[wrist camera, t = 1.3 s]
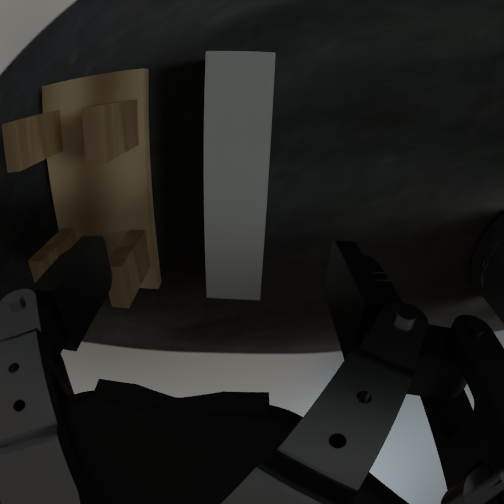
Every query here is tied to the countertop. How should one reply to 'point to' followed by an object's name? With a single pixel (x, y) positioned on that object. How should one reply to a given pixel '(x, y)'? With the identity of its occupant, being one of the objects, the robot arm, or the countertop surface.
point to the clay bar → (236, 169)
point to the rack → (95, 173)
